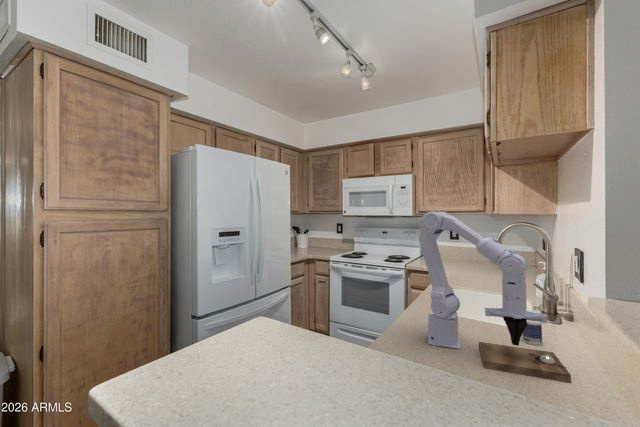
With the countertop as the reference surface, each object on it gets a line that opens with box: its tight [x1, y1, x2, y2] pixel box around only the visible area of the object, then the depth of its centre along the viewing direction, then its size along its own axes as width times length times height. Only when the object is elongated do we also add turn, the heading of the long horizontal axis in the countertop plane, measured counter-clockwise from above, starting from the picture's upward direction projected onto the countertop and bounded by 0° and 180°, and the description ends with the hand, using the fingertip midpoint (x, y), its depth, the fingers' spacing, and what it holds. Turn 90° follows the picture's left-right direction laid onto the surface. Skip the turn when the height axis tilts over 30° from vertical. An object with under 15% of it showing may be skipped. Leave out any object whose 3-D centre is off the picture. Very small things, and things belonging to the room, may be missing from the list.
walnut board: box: [478, 341, 572, 384], centre depth 80 cm, size 19×13×2 cm
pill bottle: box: [521, 310, 543, 346], centre depth 94 cm, size 5×5×10 cm
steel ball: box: [539, 355, 556, 365], centre depth 78 cm, size 4×4×4 cm
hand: (515, 344), depth 81 cm, fingers closed
